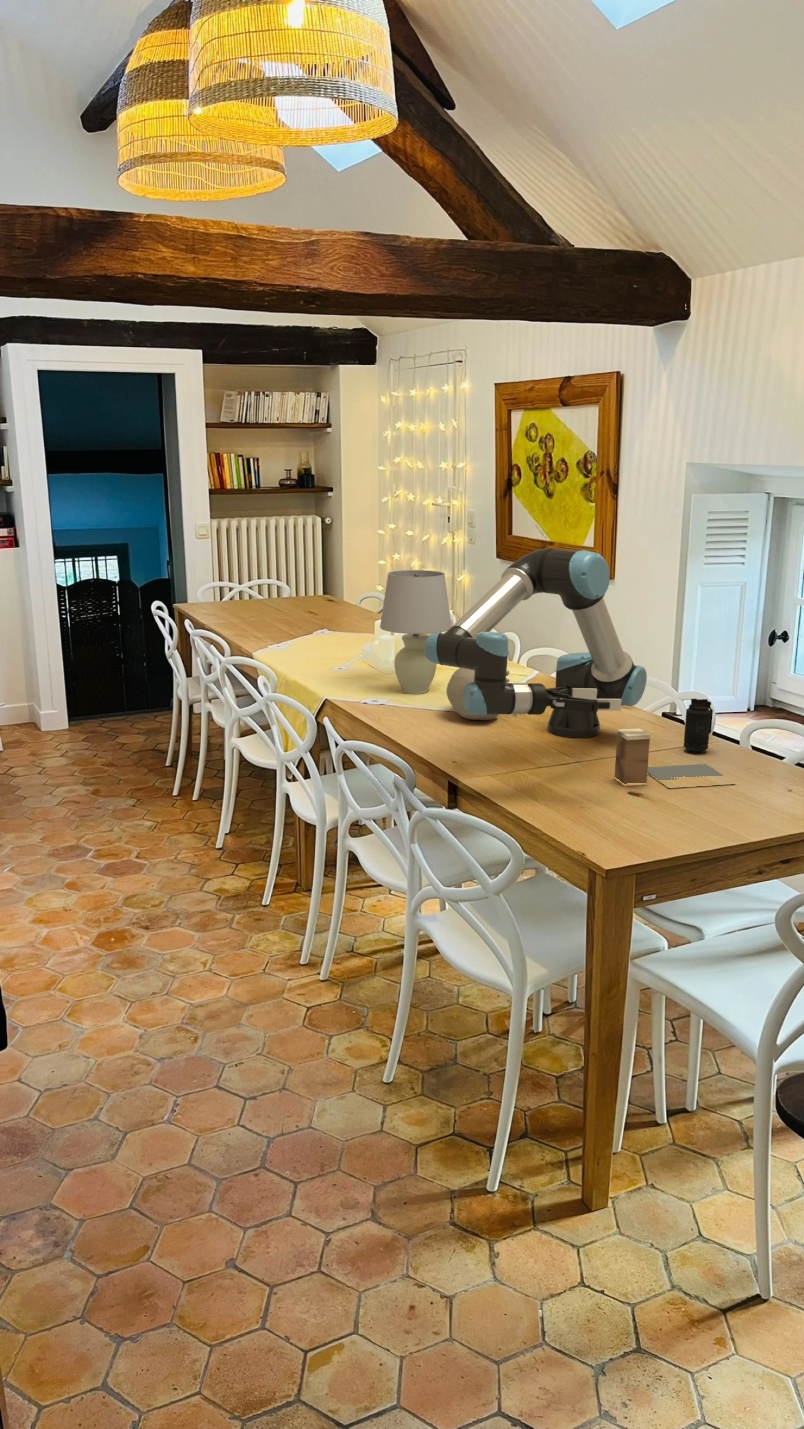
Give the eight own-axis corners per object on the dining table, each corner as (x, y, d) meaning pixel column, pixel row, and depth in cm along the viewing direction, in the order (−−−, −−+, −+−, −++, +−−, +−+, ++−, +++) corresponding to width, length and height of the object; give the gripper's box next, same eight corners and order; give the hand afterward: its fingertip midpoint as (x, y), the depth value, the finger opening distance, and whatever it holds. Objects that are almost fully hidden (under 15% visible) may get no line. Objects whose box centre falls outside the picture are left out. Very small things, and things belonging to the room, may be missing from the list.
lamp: (371, 685, 369) (371, 570, 359) (436, 681, 376) (438, 568, 366) (391, 701, 347) (392, 579, 337) (460, 697, 354) (463, 576, 344)
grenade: (690, 755, 290) (695, 702, 286) (678, 749, 296) (682, 696, 292) (714, 753, 292) (718, 700, 288) (701, 747, 298) (705, 695, 294)
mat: (641, 769, 277) (641, 767, 277) (705, 766, 281) (705, 763, 280) (668, 789, 262) (668, 786, 262) (735, 784, 265) (735, 782, 265)
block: (614, 779, 269) (617, 729, 266) (636, 777, 271) (639, 728, 267) (623, 786, 264) (627, 736, 260) (646, 785, 265) (650, 734, 262)
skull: (511, 640, 330) (447, 639, 332) (511, 684, 310) (444, 684, 312) (510, 694, 342) (449, 693, 344) (510, 741, 322) (445, 740, 324)
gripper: (507, 704, 268) (585, 704, 273) (545, 725, 244) (629, 725, 250) (509, 674, 266) (587, 675, 272) (548, 693, 243) (632, 693, 248)
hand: (608, 699), depth 261 cm, fingers open, 13 cm apart
